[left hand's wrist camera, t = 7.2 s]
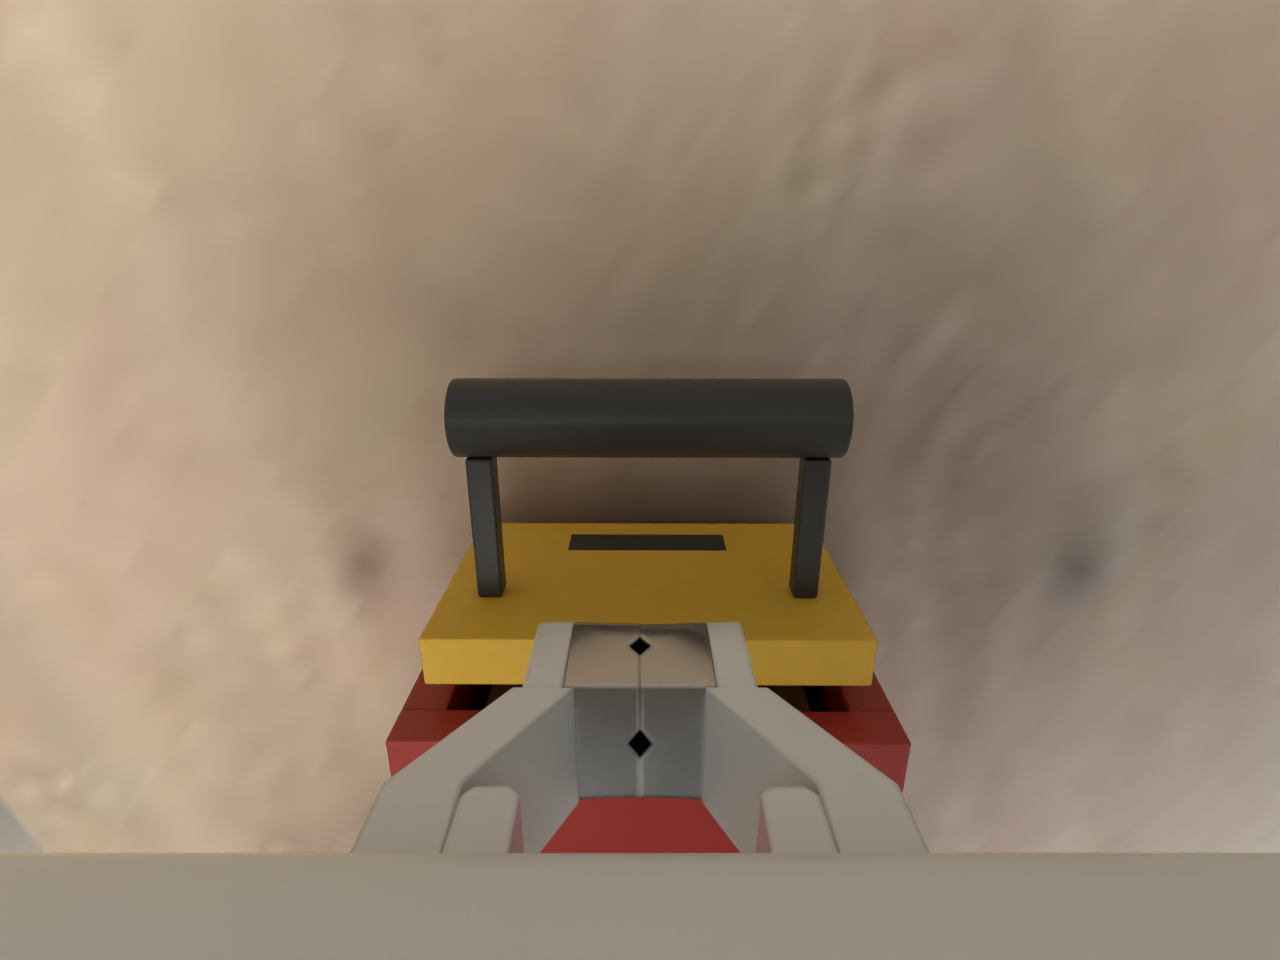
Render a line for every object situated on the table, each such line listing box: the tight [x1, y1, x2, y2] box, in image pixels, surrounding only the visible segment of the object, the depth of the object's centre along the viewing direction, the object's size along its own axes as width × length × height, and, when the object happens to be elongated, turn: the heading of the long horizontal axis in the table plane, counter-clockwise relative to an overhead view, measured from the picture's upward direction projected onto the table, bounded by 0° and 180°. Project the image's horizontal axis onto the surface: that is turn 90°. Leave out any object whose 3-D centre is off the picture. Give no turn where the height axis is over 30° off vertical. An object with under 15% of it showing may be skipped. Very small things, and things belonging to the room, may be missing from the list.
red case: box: [386, 669, 911, 853], centre depth 21 cm, size 19×11×8 cm, turn 0°
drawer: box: [419, 378, 878, 712], centre depth 20 cm, size 22×10×6 cm, turn 0°
